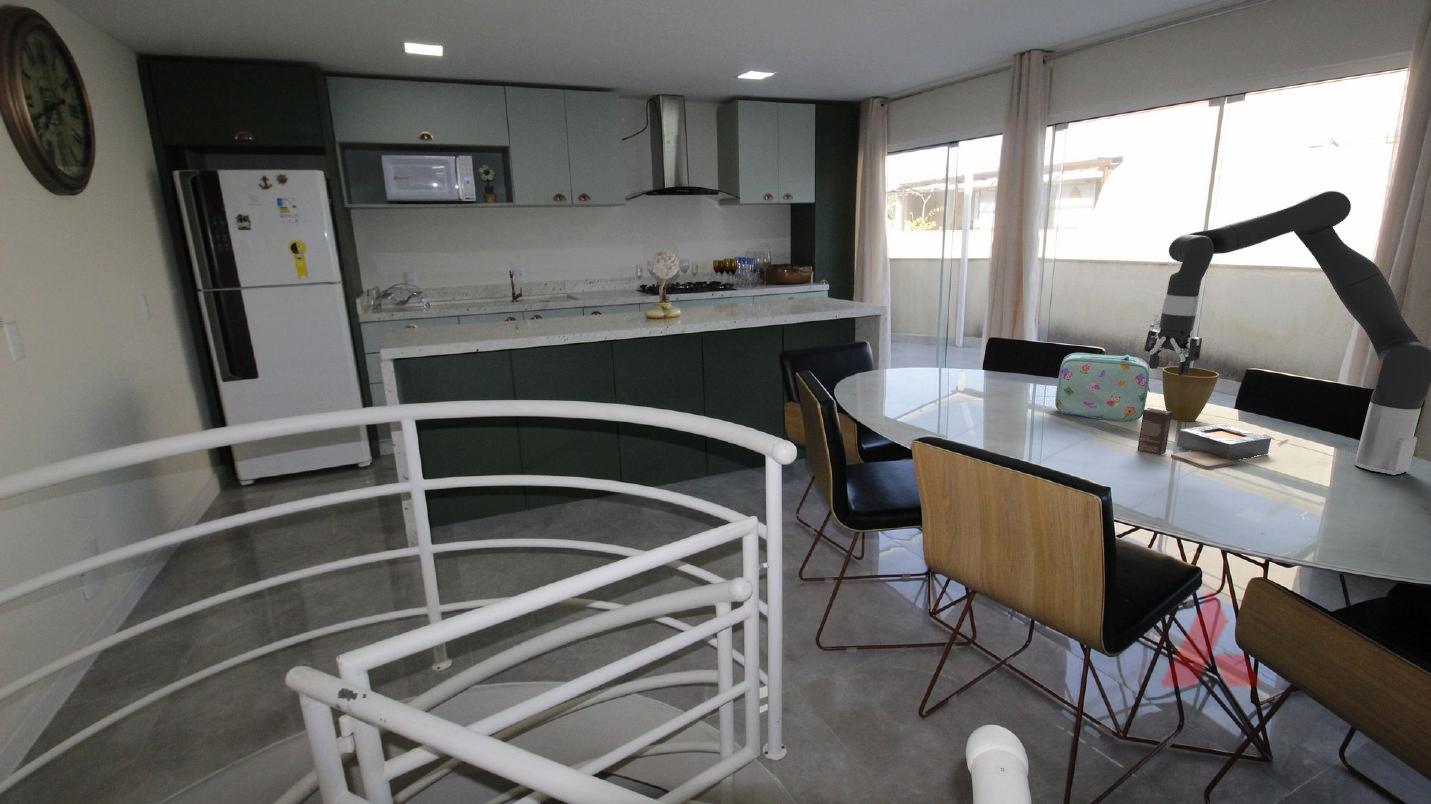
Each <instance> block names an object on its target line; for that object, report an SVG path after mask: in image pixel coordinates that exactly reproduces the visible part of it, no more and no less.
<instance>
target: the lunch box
mask: <svg viewBox="0 0 1431 804" xmlns="http://www.w3.org/2000/svg"><path fill="white" fill-rule="evenodd" d="M1149 384H1150V366H1149V363H1147V361H1145V360H1144V359H1142V358H1140V357H1137V356H1131V355H1130V354H1125V355H1113V354H1110V355H1109V354H1099V353H1098V354H1097V353H1088V352H1074V353H1070V354H1067V355H1065V357H1064V358H1063V359H1062V363H1061V364H1060V368H1059V374H1058V377H1057V385H1056V392H1055V403H1054V404H1055V408H1056V409H1057V410H1058V411H1059V412H1060V413H1062V414H1066V415H1073V416H1075V415H1076V416H1081V417H1082V416H1083V417H1087V418H1093V419H1097V420H1108V421H1109V420H1110V421H1118V422H1119V421H1120V422H1135V421H1136V422H1137V421H1139V420H1140V419H1142V416H1143V410H1145V409H1146V408H1145V407H1146V404H1147V398H1148V393H1151V388H1150V385H1149Z"/></svg>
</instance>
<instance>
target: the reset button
mask: <svg viewBox="0 0 1431 804" xmlns="http://www.w3.org/2000/svg"><path fill="white" fill-rule="evenodd" d="M1208 434H1212V435H1215V436H1219V437H1222V438H1226V439H1235V438H1241V437H1240V436H1237V435H1233V434H1229V433H1226V432H1222V431H1218V432H1212V433H1208Z"/></svg>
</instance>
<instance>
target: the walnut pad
mask: <svg viewBox="0 0 1431 804" xmlns="http://www.w3.org/2000/svg"><path fill="white" fill-rule="evenodd" d="M1170 458H1172V459H1176V460H1179V461H1181V462H1184V463H1187V464H1190V465H1194V466H1197V467H1199V468H1202V469H1204V470H1211V469H1214V468H1215V467H1216V468H1221V467H1226V465H1228V466H1232V465H1231V464H1234V465H1235V461H1231V460H1228V459H1225V458H1221V457H1218V456H1215V455H1212V454H1209V453H1205V452H1202V451H1199V450H1194V451H1190V450H1187V451H1182V452H1176V453H1170ZM1216 468H1215V469H1216Z"/></svg>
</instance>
